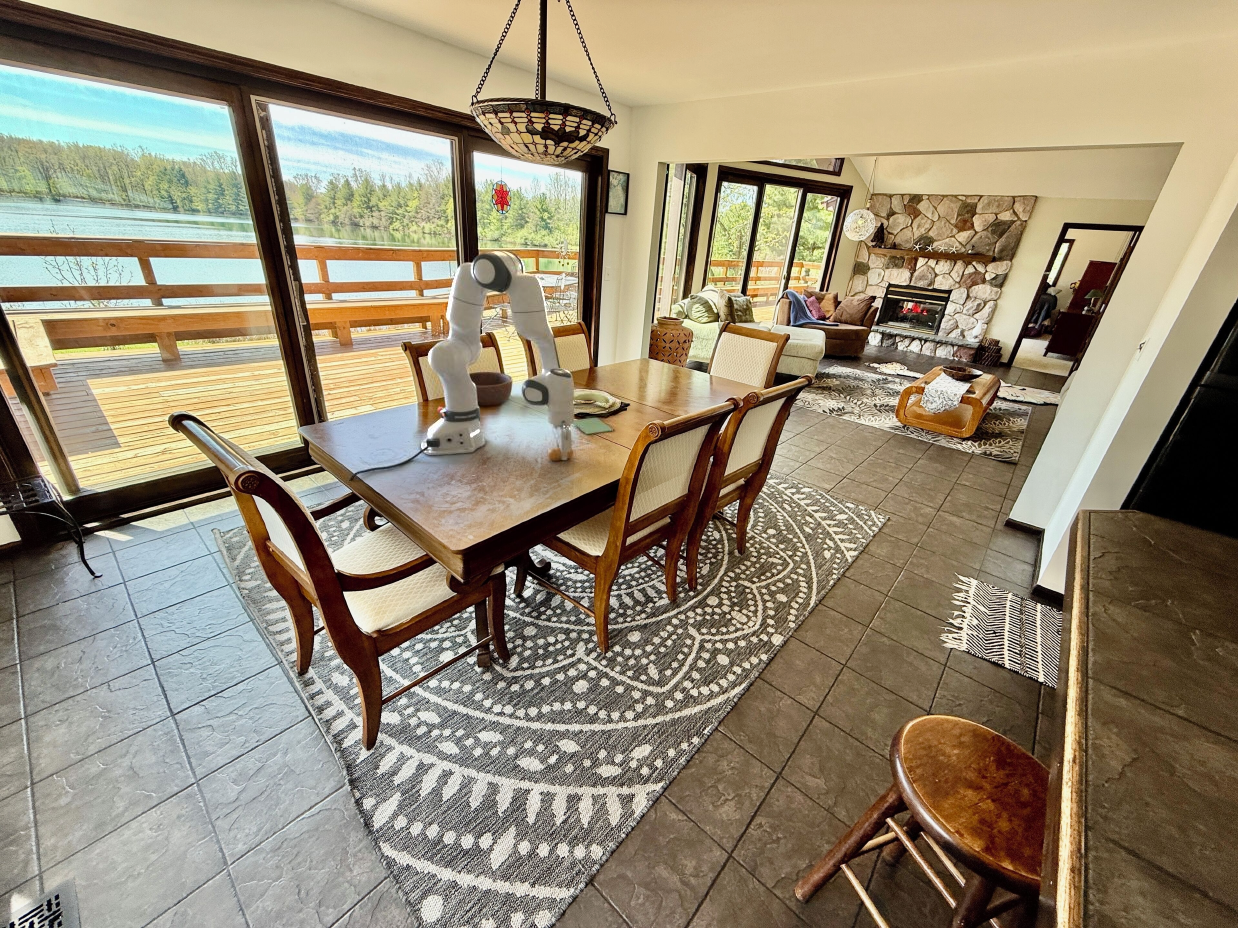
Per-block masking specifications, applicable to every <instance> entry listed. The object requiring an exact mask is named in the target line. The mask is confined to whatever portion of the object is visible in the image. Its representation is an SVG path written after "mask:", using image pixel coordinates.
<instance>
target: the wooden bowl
mask: <svg viewBox="0 0 1238 928" xmlns="http://www.w3.org/2000/svg"><path fill="white" fill-rule="evenodd" d="M469 375H470V378H471V380H472V382H473V383H474V384H475V385H476V391H477V402H478V406H479V407H492V406H498V405H502V404H505V403H506V402H507V401H508V400H509V399H510V397H511V393H512V389H513V377H512V376H510V375H509V374H506V373H504V372H503V373H502V372H498V371H497V372H495V371H477V372H469Z"/></svg>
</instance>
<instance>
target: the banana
mask: <svg viewBox="0 0 1238 928" xmlns="http://www.w3.org/2000/svg"><path fill="white" fill-rule="evenodd" d="M573 400H592V401H596V402H600V403H606V404H607V403H610V398H608V397H607V396H605V395H603V394H601V393H596V392H582V393H579V394H578V393H577V394H576V395H574V399H573ZM605 412H606V413H609V412H610V409H609V410H608V411H606V410H605Z"/></svg>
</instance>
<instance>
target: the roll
mask: <svg viewBox="0 0 1238 928" xmlns="http://www.w3.org/2000/svg"><path fill="white" fill-rule="evenodd" d="M547 455H548V458H549V460H551V461H553V462H555V461H563V460H562V458H561V450H560V448H557V447H553V448H551V449H549V451H548V452H547ZM573 455H574V450H573V448H572V450H571V452H568V453H567V460H568V459H571V458H572V457H573Z"/></svg>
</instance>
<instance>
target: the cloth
mask: <svg viewBox="0 0 1238 928" xmlns="http://www.w3.org/2000/svg"><path fill="white" fill-rule="evenodd" d="M573 424H574V425H575V426H576V427H578V429H580V430H581V431H582V432H583V433H584V434H585V435H593V434H599V433H606V432H613V431H614V429H613V428H612V427H611V426H609V425H608V424H606V423H605V422H604V421H603V420H601V419H600V418H599V417H589V418H583V419H582V418H581V419H574V423H573Z"/></svg>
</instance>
